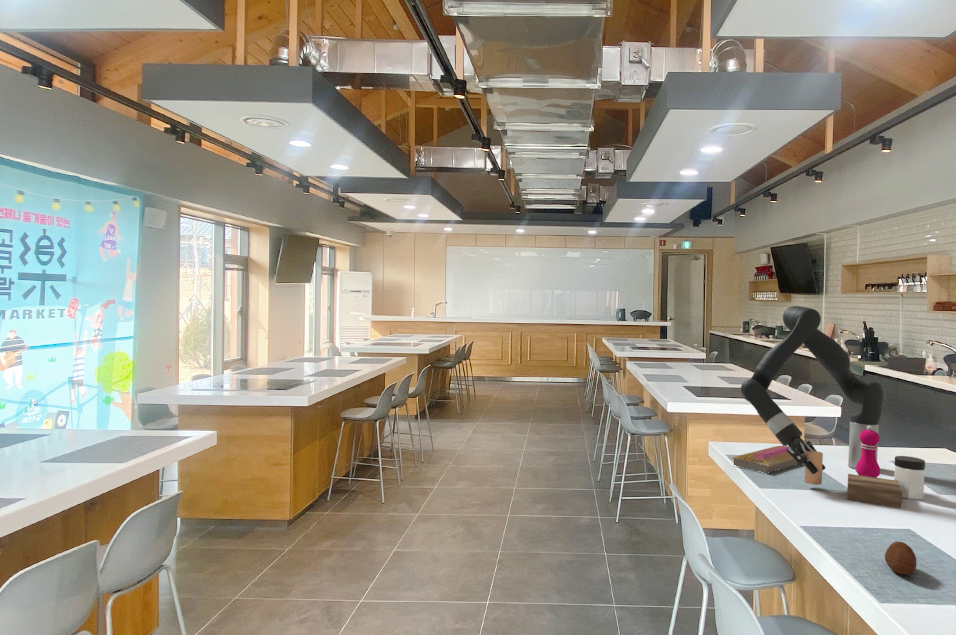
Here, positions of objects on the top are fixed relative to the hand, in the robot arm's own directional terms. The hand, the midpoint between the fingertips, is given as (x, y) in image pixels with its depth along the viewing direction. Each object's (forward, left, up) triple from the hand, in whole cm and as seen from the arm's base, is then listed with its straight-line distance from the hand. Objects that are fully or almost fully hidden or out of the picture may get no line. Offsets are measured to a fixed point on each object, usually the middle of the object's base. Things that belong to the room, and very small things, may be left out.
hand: (819, 471), depth 205 cm
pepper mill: (-19, +14, -6) cm, 25 cm away
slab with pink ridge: (-29, -17, -7) cm, 34 cm away
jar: (-10, +25, -6) cm, 28 cm away
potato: (+62, +18, -7) cm, 65 cm away
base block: (0, +15, -6) cm, 16 cm away
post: (-1, -2, -4) cm, 5 cm away
